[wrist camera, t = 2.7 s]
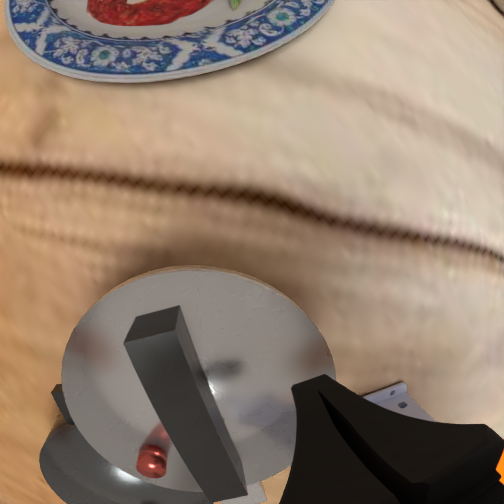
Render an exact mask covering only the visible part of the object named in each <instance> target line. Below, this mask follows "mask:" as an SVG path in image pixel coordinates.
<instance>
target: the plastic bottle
mask: <svg viewBox="0 0 504 504" xmlns="http://www.w3.org/2000/svg"><path fill="white" fill-rule="evenodd" d="M493 1H494V3H495V4H496V5H497V6H498V8H499V9H500V10H501V11H502V12H503V13H504V0H493Z"/></svg>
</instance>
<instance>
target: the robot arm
mask: <svg viewBox="0 0 504 504" xmlns="http://www.w3.org/2000/svg"><path fill="white" fill-rule="evenodd" d="M291 391H292V395H293V399H294V403H295V407H296V417H297V428H296V442H295V450H294V456H293V461H292V466H291V470H290V474H289V477H288V481H287V484H286V487H285V489H284V492H283V495H282V498H281V500H280V503H279V504H504V484H503V483H502V482H501V481H500V479H501V474H500V473H499V472H498V471H497V470H496V468H497V466H498V463H499V461H500V459H501V456H502V454H503V451H504V440H503V439H502V438H501V437H500V436H499V435H498V434H497V433H496V432H495V431H494V430H492V429H491V428H489V427H488V426H487V425H485V424H450V423H440V422H436V421H435V420H434V419H433V418H432V417H431V416H430V415H429V414H428V413H427V412H426V411H425V410H424V409H423V408H422V407H421V406H420V405H419V404H418V403H417V402H416V401H415V400H414V399H413V398H412V397H411V396H410V395H409V394H408V393H407V385H406V384H405V383H404V382H401V383H398V384H396V385H393V386H391V387H388V388H385V389H383V390H380V391H377V392H375V393H372V394H369V395H366V396H363V397H361V396H359V395H358V394H356V393H354V392H352V391H351V390H349V389H347V388H346V387H344V386H343V385H341V384H340V383H338V382H337V381H335V380H334V379H332V378H331V377H329V376H328V375H326V374H323V375H320V376H317V377H314V378H312V379H309V380H306V381H303V382H300V383H297V384H294V385H293V386H292V387H291ZM391 391H392V392H391Z"/></svg>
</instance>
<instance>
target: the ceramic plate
mask: <svg viewBox="0 0 504 504" xmlns="http://www.w3.org/2000/svg"><path fill="white" fill-rule="evenodd" d="M334 1H335V0H5V3H4V9H5V19H6V24H7V27H8V30H9V33H10V35H11V37H12V39H13V40H14V42H15V44H16V45H17V46H18V47H19V49H20V50H21V51H22V52H23V53H24V54H25V55H26V56H28V57H29V58H30V59H31V60H32V61H34V62H36V63H37V64H39V65H41V66H42V67H44V68H47V69H49V70H51V71H54V72H56V73H59V74H62V75H66V76H69V77H72V78H78V79H84V80H89V81H95V82H113V83H140V82H155V81H163V80H173V79H178V78H184V77H190V76H195V75H199V74H204V73H208V72H212V71H217V70H220V69H223V68H227V67H230V66H234V65H237V64H240V63H242V62H245V61H248V60H251V59H253V58H256V57H258V56H261V55H263V54H265V53H267V52H270V51H272V50H274V49H276V48H278V47H280V46H282V45H283V44H285V43H287V42H289V41H291V40H292V39H294V38H295V37H297V36H298V35H300V34H301V33H303V32H304V31H306V30H307V29H308V28H309V27H311V26H312V25H313V24H314V23H316V22H317V21H318V20H319V19H320V18H321V17H322V16H323V15H324V14H325V13H326V12H327V11H328V9H329V8H330V6H331V5H332V3H333V2H334Z"/></svg>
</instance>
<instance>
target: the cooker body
mask: <svg viewBox="0 0 504 504" xmlns="http://www.w3.org/2000/svg"><path fill="white" fill-rule="evenodd" d="M51 393H52V395H53V397H54V399H55V401H56V403H57V405H58V407H59V409H60V411H61V413H60V415H59V416H58V418H57V420H56V422H55V424H54V426H53V428H52V430H51V432H50V433H49V435H48V437H47V439H46V441H45V443H44V445H43V447H42V449H41V452H40V458H39V462H40V468H41V471H42V474H43V476H44V478H45V480H46V481H47V483H48V484H49V486H50V487H51V488H52V490H53V491H54V492H55V493H56V494H57V495H58V496H59V497H60V498H61V499H62V500H63V501H64V502H66V503H67V504H213V502H212V503H210V501H209V500H208V498H207V497H206V495H205V494H204V492H189V491H180V490H174V489H169V488H164V487H160V486H157V485H154V484H151V483H148V482H145V481H143V480H140V479H138V478H135V477H133V476H131V475H130V474H128V473H126V472H124V471H122V470H120V469H119V468H117V467H116V466H114V465H113V464H111V463H110V462H109V461H107V460H106V459H105V458H104V457H103V456H101V455H100V454H99V453H98V452H97V451H96V450H95V449H94V448H93V447H92V446H91V445H90V444H89V443H88V442H87V440H86V439H85V438H84V436H83V435H82V434H81V432H80V431H79V430H78V428H77V426H76V425H75V423H74V421H73V419H72V417H71V415H70V413H69V410H68V408H67V405H66V402H65V398H64V393H63V389H62V384H56V386H55V388H54V389H53V391H52V392H51Z"/></svg>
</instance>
